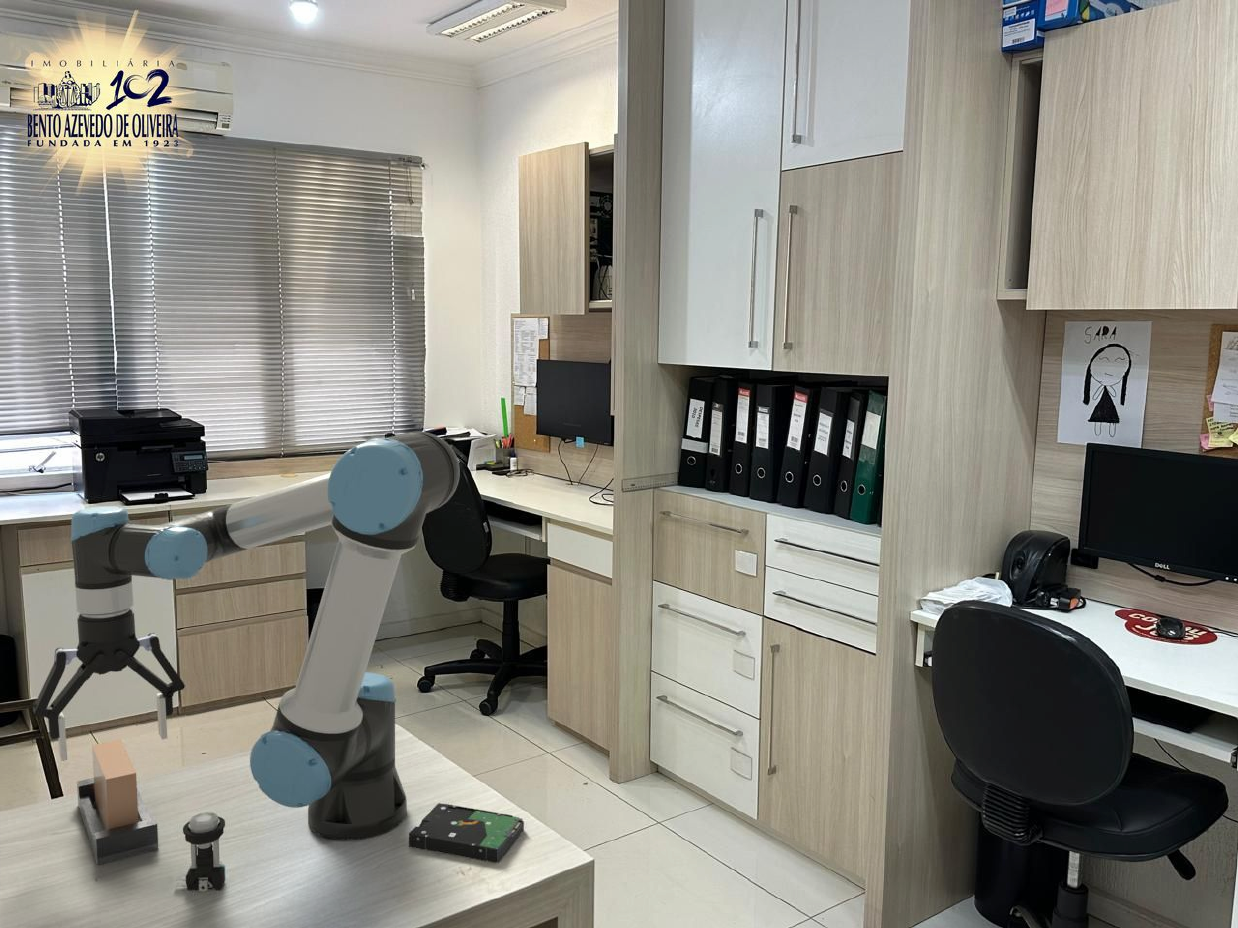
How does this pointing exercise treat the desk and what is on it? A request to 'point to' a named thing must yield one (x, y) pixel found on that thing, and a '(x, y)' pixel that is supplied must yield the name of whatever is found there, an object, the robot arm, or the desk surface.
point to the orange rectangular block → (114, 785)
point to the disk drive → (467, 832)
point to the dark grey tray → (115, 829)
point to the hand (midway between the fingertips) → (114, 746)
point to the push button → (204, 853)
